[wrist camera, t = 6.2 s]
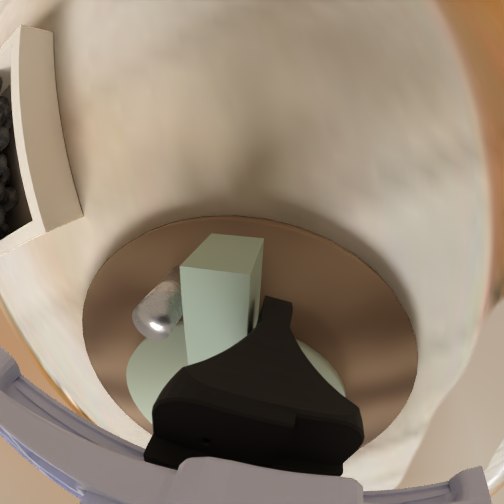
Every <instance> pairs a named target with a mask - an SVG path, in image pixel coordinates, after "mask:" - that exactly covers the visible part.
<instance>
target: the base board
mask: <svg viewBox="0 0 504 504" xmlns="http://www.w3.org/2000/svg"><path fill="white" fill-rule="evenodd" d="M211 233H213V234H224V235H235V236H245V237H256V238H264V246H263V260H262V274H261V288H260V301H259V314H260V311H261V308H262V304H263V301H264V298H265V295H266V296H270V297H273V298H277V299H281V300H284V301H288V302H292V306H293V313H292V319H291V324H290V328H291V331H292V333H293V335H294V337H295V339H297V340H299V341H301V342H303V343H305V344H307V345H308V346H309V347H311V348H312V349H314V350H315V351H317V352H318V353H319V354H321V355H322V356H323V357H324V358H325V359H326V360H327V361H328V362H329V363H330V364H331V365H332V366H333V368H334V369H335V370H336V371H337V373H338V375H339V376H340V378H341V380H342V382H343V385H344V388H345V393H346V398H347V399H348V400H350V401H351V402H352V403H354V404H355V405H356V406H358V407H359V409H360V413H361V417H362V421H363V427H364V435H365V438H364V442H363V444H362V445H361V446H360V448H361V447H363V446H364V445H366V444H367V443H369V442H370V441H372V440H373V439H375V438H376V437H377V436H378V435H379V434H381V433H382V432H383V431H384V430H385V429H386V428H387V427H388V426H389V425H390V424H391V423H392V422H393V421H394V420H395V418H396V417H397V416H398V415H399V413H400V412H401V410H402V409H403V407H404V406H405V404H406V402H407V400H408V398H409V396H410V394H411V392H412V389H413V386H414V382H415V378H416V374H417V364H418V352H417V345H416V338H415V335H414V332H413V329H412V326H411V323H410V320H409V318H408V316H407V314H406V313H405V311H404V309H403V307H402V306H401V304H400V302H399V301H398V299H397V297H396V296H395V294H394V292H393V291H392V290H391V288H390V287H389V286H388V285H387V284H386V283H385V281H384V280H383V279H382V278H381V277H380V276H379V275H378V274H377V272H375V271H374V270H373V269H372V268H371V267H369V266H368V265H367V264H366V263H365V262H363V261H362V260H361V259H360V258H358V257H357V256H356V255H355V254H353V253H351V252H350V251H348V250H346V249H344V248H343V247H341V246H339V245H338V244H336V243H334V242H332V241H331V240H329V239H327V238H324V237H322V236H319V235H317V234H314V233H312V232H309V231H307V230H304V229H302V228H299V227H296V226H292V225H288V224H284V223H280V222H276V221H272V220H268V219H261V218H252V217H243V216H205V217H198V218H192V219H187V220H182V221H176V222H173V223H170V224H167V225H164V226H162V227H159V228H156V229H153V230H151V231H149V232H147V233H145V234H143V235H142V236H140V237H138V238H136V239H135V240H133V241H131V242H130V243H128V244H126V245H125V246H123V247H122V248H121V249H120V250H118V251H117V252H116V253H115V254H114V255H112V256H111V257H110V258H109V259H108V260H107V261H106V262H105V263H104V265H103V266H102V267H101V268H100V270H99V271H98V272H97V274H96V275H95V277H94V279H93V281H92V283H91V285H90V287H89V289H88V292H87V296H86V299H85V303H84V308H83V318H82V323H83V337H84V341H85V346H86V350H87V353H88V356H89V359H90V362H91V365H92V367H93V369H94V371H95V373H96V375H97V377H98V379H99V380H100V382H101V383H102V385H103V387H104V388H105V390H106V391H107V392H108V394H109V395H110V396H111V398H112V399H113V400H114V401H115V403H116V404H117V405H118V406H119V407H120V408H121V409H122V410H123V411H124V412H125V413H126V414H127V415H128V416H129V417H130V418H131V419H132V420H133V421H135V422H136V423H137V424H138V425H139V426H141V427H142V428H143V429H145V430H146V431H147V432H149V433H150V434H152V435H153V425H152V424H151V423H150V422H149V421H148V420H147V419H146V418H145V416H144V415H143V414H142V413H141V411H140V410H139V409H138V407H137V406H136V404H135V402H134V401H133V399H132V397H131V394H130V392H129V389H128V385H127V379H126V371H127V365H128V362H129V359H130V357H131V356H132V354H133V353H134V351H135V350H136V348H137V347H138V346H139V344H140V343H141V342H142V341H143V340H144V339H145V338H146V337H145V336H144V335H142V334H141V333H140V332H139V331H138V330H137V328H136V327H135V325H134V323H133V319H132V313H133V310H134V309H135V308H136V307H137V306H138V304H139V303H140V302H141V301H142V300H143V299H144V298H145V297H146V296H147V295H148V294H149V293H150V292H151V291H152V290H153V289H154V288H155V287H156V286H157V285H158V284H159V283H160V282H161V280H162V279H163V278H164V277H165V276H166V275H167V274H168V273H169V272H170V271H171V270H172V269H173V268H174V267H176V266H177V265H181V264H182V263H183V262H184V261H185V260H186V259H187V258H188V257H189V256H190V255H191V254H192V253H193V252H194V251H195V250H196V249H197V248H198V247H199V246H200V244H201V243H202V242H203V241H204V240H205V239H206V238H207V237H208V236H209V235H210V234H211ZM258 317H259V315H258ZM181 320H183V315H182V316H181V318H180V319H179V321H181Z"/></svg>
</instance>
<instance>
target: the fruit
mask: <svg viewBox="0 0 504 504" xmlns="http://www.w3.org/2000/svg"><path fill="white" fill-rule="evenodd" d="M2 84H3V81H2V78H1V77H0V92H1V88H2ZM8 106H9V102H8V99H7V98H6V97H4V96H2V95H0V152H1V150H2V149H4V148H5V147H6V146H7V145H8V142H9V140H10V133H9V129H10V127H11V125H12V117H11V116H10V114H6V111H7V110H8ZM10 177H11V173H10V170H9V169H8V168H7V158H6V156H5V155H3V154H2V153H0V240H2V239H3V238H5V237H7V235H8V231H9V227H8V224H7V222H6V221H5V220H4V219H5V213H6V212H8V211H9V210H10V209H11V208H13V207H14V206H15V205H16V204H17V200H18V196H17V192H16V190H15V189H14V188H13V187H5V184H7V183H8V181H9V180H10Z"/></svg>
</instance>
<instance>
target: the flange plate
mask: <svg viewBox="0 0 504 504" xmlns="http://www.w3.org/2000/svg"><path fill="white" fill-rule="evenodd" d="M263 246H264V238H256V237H245V236H235V235H224V234H213V233H211V234H210V235H209V236H208V237H207V238H206V239H205V240H204V241H203V242H202V243H201V244H200V246H199V247H198V248H197V249H196V250H195V251H194V252H193V253H192V254H191V255H190V256H189V257H188V258H187V259H186V260H185V261H184V262H183V263H182V264H181V265H180V281H181V296H182V309H183V320H181V321H178V322H177V324H176V325H175V327H174V328H173V330H172V331H171V333H170V334H169V336H168V337H167V338H166V339H164V340H162V341H155V340H151V339H149V338H147V337H146V338H145V339H144V340H143V341H142V342H141V343H140V344H139V346H138V347H137V348H136V350H135V351H134V353H133V354H132V356H131V357H130V359H129V362H128V365H127V371H126V379H127V385H128V389H129V392H130V394H131V397H132V399H133V401H134V402H135V404H136V406H137V407H138V409H139V410H140V411H141V413H142V414H143V415H144V416H145V418H146V419H147V420H148V421H149V422H150V423H151V424H152V408H153V405H154V403H155V401H156V400H157V398H158V396H159V394H160V392H161V391H162V389H163V388H164V387H165V385H166V384H167V383H168V382H169V380H170V379H171V378H172V377H173V376H174V375H175V374H176V373H177V372H178V371H179V370H180V369H181V368H182V367H184V366H188V365H191V364H194V363H198V362H201V361H203V360H206V359H208V358H210V357H213V356H215V355H217V354H219V353H221V352H223V351H225V350H227V349H228V348H230V347H231V346H233V345H234V344H236V343H238V342H239V341H240V340H242V339H243V338H244V337H245V336H247V335H248V334H249V333H250V332H251V331H252V330H253V329H254V328H255V327H256V324H257V321H258V315H259V301H260V288H261V274H262V260H263ZM296 341H297V343H298V344H299V346H300V348H301V350H302V351H303V353H304V354H305V356H306V357H307V358H308V360H309V361H310V362H311V364H312V365H313V366H314V367H315V369H316V370H317V371H318V372H319V373H320V374H321V375H322V377H323V378H324V379H325V380H326V381H327V382H328V383H329V384H330V385H332V386H333V387H334V388H335V389H336V390H337V391H338V392H339V393H340V394H342V395H343V396H344V397H346V393H345V388H344V385H343V382H342V380H341V378H340V376H339V375H338V373H337V371H336V370H335V369H334V368H333V366H332V365H331V364H330V363H329V362H328V361H327V360H326V359H325V358H324V357H323V356H322V355H321V354H319V353H318V352H317V351H315V350H314V349H312V348H311V347H309V346H308V345H307V344H305V343H303V342H301V341H299V340H297V339H296Z"/></svg>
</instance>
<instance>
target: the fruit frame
mask: <svg viewBox="0 0 504 504" xmlns="http://www.w3.org/2000/svg"><path fill="white" fill-rule="evenodd" d="M0 77H1V78H2V81H3V84H2V88H1V92H0V95H1V94H2V93H3V92H4V91H5V90H6V88H7V87H8V86H9V85H10V84H11V102H12V116H13V126H14V135H15V142H16V149H17V155H18V161H19V166H20V172H21V176H22V181H23V185H24V190H25V194H26V198H27V202H28V206H29V209H30V213H31V216H32V220H33V221H31V222H29V223H28V224H26V225H24V226H23V227H21V228H19V229H18V230H16V231H14V232H13V233H11V234H10V235H8V236H7V237H5V238H3V239H2V240H0V256H2V255H3V254H5V253H7V252H9V251H11V250H13V249H15V248H17V247H19V246H21V245H23V244H25V243H27V242H29V241H31V240H33V239H35V238H37V237H39V236H41V235H43V234H45V233H47V232H50V231H52V230H54V229H56V228H58V227H60V226H63V225H65V224H67V223H70V222H72V221H74V220H76V219H79V218H81V217H83V213H82V210H81V207H80V204H79V200H78V197H77V193H76V190H75V186H74V182H73V178H72V174H71V170H70V166H69V162H68V157H67V153H66V148H65V143H64V138H63V132H62V127H61V120H60V114H59V107H58V99H57V91H56V81H55V68H54V46H53V32H50V31H47V30H43V29H39V28H35V27H31V26H26V25H22V24H21V25H20V26H19V27H18V28H17V29H16V31H15V32H14V33H13V34H12V35H11V36H10V37H9V38H8V40H7V41H6V42H5V43H4V44H3V45H2V47H1V48H0Z"/></svg>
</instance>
